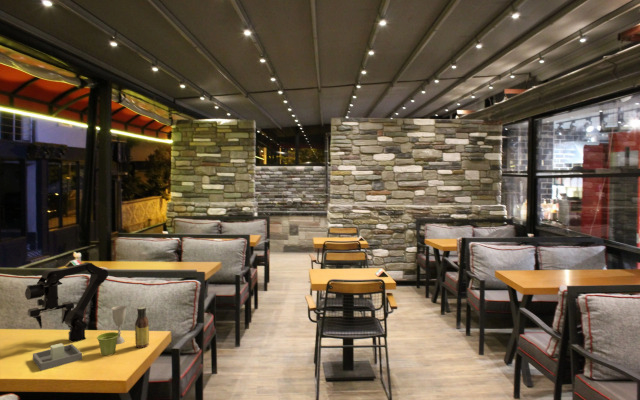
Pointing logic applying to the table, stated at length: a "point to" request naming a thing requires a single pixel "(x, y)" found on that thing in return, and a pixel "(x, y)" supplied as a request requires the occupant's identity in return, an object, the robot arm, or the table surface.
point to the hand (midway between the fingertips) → (51, 325)
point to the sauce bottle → (141, 328)
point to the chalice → (119, 320)
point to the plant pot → (108, 343)
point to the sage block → (57, 351)
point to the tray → (45, 361)
